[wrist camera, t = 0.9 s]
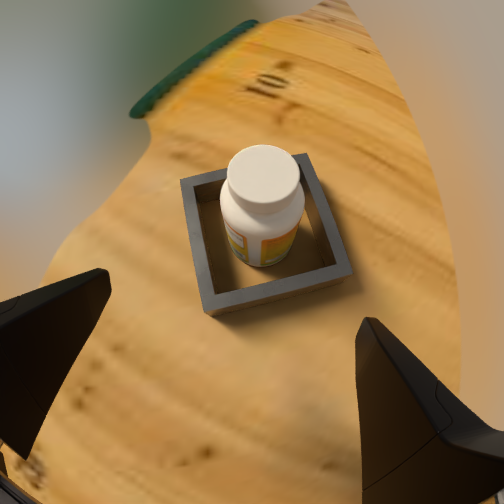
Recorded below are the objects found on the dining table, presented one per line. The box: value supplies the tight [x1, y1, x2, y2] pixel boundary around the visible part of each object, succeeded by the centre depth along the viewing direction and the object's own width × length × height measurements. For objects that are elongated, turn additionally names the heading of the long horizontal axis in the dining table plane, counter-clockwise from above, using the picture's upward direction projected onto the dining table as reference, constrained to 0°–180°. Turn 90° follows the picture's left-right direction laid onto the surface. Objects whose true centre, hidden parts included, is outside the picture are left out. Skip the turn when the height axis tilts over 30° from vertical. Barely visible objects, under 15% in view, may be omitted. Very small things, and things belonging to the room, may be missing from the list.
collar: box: [180, 153, 353, 316], centre depth 23 cm, size 11×11×3 cm
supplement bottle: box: [220, 145, 305, 267], centre depth 20 cm, size 5×5×10 cm
